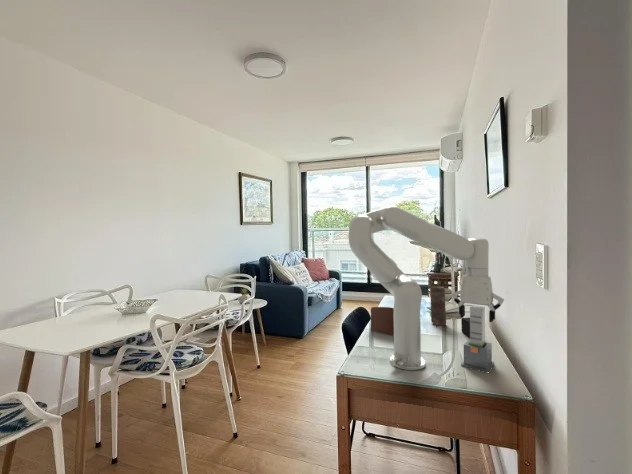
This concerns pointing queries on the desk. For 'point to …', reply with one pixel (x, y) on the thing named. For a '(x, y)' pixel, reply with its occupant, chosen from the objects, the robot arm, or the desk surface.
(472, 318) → the column
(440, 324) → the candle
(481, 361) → the stand base
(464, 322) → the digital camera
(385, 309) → the letter holder
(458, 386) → the desk surface
